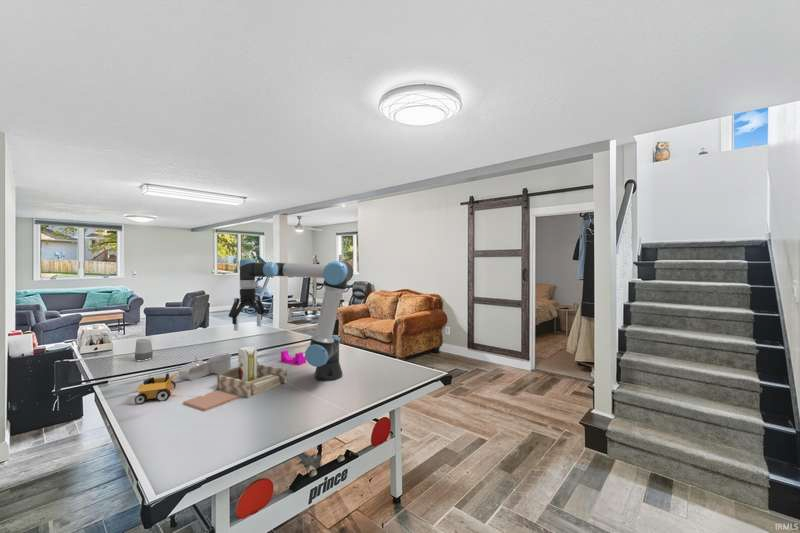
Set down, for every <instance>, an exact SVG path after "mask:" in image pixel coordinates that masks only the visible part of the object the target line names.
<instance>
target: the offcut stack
mask: <svg viewBox="0 0 800 533" xmlns="http://www.w3.org/2000/svg"><path fill="white" fill-rule="evenodd" d="M279 386H281V383H280V382H279V376H274V375H268V376H265V377H262V378H259V379H257V380H254V381H251V382H250V392H251V395H253V396H256V395H258V394H261V393H263V392H267V391H268V390H271V389H274V388H276V387H279Z"/></svg>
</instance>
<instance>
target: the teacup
mask: <svg viewBox="0 0 800 533" xmlns="http://www.w3.org/2000/svg"><path fill="white" fill-rule="evenodd" d="M232 356H233V355H232V354H231V353H229V352H228V353H224V354H217V355H214V356H211V357H210V358H208V359H207V362H209V363H210V365H211V369H212V373H213V374H214V375H218V373H221V372H225V371H228V370H231V366H232V365H231V359H232V358H231V357H232Z"/></svg>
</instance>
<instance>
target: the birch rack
mask: <svg viewBox="0 0 800 533" xmlns="http://www.w3.org/2000/svg"><path fill="white" fill-rule="evenodd" d="M268 375H274V376H279V382H281V383H282V384H288V369H286V368H281V367H277V366H276V367H275V366H271V365H265V364H260V362H259V361H257V379H259V378H262V377H265V376H268ZM257 379H254V380H257ZM254 380H251V381H254ZM251 381H244V380H239V379H238V367H237V368H232V369H230V370H228V371H225V372H221V373H218V374H216V391H217V390H218V391H222V392H226V393H229V394H233V395H237V396H239V397H243V398H247V399H249V398H251V392H250V382H251ZM281 383H280V384H281Z"/></svg>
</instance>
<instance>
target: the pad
mask: <svg viewBox="0 0 800 533" xmlns="http://www.w3.org/2000/svg"><path fill="white" fill-rule="evenodd" d="M238 399H240V396H239V395H235V394H232V393H228V392H224V391H221V390H217V389H216V390H214V391H210V392H207V393H206V394H204V395H200V396H196V397H193V398H190V399H188V400H184V401H183V402H182V404H183V405H185V406H188V407H192V408H194V409H197V410H201V411H203V412H206V411H209V410H211V409H213V408H217V407H220V406H222V405H224V404H227V403H230V402H232V401H235V400H238Z"/></svg>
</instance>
